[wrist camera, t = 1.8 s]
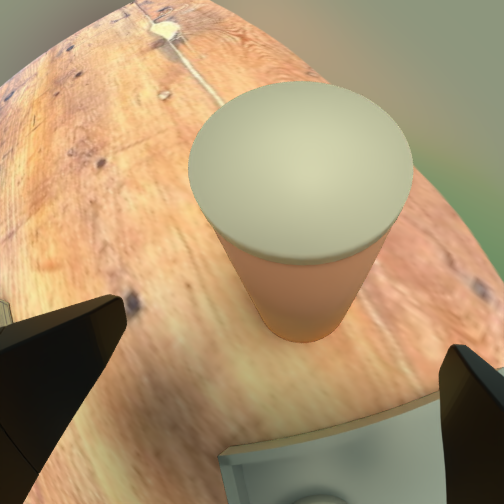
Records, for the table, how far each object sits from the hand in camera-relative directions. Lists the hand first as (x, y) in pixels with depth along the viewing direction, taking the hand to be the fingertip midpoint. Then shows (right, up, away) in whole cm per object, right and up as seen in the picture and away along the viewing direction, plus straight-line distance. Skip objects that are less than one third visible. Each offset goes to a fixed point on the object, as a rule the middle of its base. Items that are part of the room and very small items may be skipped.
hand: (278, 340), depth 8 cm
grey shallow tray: (+7, -13, +5) cm, 15 cm away
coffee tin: (+2, -1, +11) cm, 12 cm away
